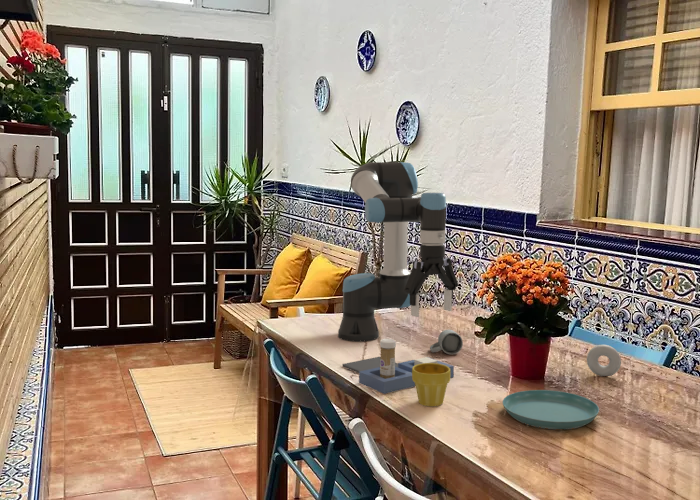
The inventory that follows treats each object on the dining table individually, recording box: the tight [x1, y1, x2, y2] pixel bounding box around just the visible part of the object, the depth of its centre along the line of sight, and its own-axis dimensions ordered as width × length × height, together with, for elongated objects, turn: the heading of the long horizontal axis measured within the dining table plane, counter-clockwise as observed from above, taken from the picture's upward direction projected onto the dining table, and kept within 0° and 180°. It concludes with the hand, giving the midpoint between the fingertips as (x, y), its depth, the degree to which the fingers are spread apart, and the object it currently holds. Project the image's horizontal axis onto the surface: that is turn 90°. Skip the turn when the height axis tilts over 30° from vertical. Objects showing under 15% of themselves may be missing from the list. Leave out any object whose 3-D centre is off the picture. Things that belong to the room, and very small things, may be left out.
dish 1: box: [358, 367, 416, 395], centre depth 209 cm, size 12×12×4 cm
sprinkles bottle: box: [379, 338, 397, 379], centre depth 209 cm, size 5×5×14 cm
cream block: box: [413, 356, 438, 366], centre depth 218 cm, size 5×5×5 cm
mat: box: [341, 356, 399, 374], centre depth 226 cm, size 15×15×1 cm
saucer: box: [502, 389, 600, 430], centre depth 185 cm, size 24×24×3 cm
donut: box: [586, 344, 622, 377], centre depth 217 cm, size 10×3×10 cm, turn 65°
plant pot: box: [412, 363, 451, 408], centre depth 194 cm, size 10×10×10 cm
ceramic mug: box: [429, 329, 464, 356], centre depth 245 cm, size 11×8×8 cm
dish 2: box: [397, 356, 455, 379], centre depth 218 cm, size 12×12×4 cm
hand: (431, 313), depth 217 cm, fingers open, 13 cm apart
